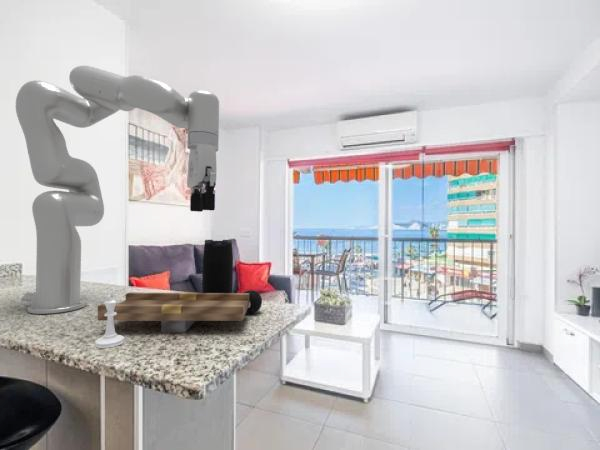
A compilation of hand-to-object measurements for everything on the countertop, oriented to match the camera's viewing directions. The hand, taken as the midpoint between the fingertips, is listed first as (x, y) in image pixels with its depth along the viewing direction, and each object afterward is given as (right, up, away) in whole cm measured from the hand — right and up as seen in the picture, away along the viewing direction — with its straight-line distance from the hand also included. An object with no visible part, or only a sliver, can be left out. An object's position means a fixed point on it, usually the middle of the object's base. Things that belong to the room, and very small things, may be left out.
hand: (201, 210), depth 78 cm
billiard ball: (+12, -27, +4) cm, 30 cm away
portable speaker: (+1, -27, +10) cm, 29 cm away
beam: (-3, -27, -6) cm, 28 cm away
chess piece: (-12, -27, -18) cm, 35 cm away
